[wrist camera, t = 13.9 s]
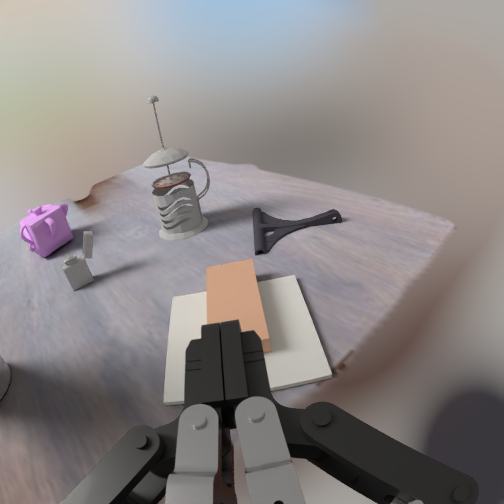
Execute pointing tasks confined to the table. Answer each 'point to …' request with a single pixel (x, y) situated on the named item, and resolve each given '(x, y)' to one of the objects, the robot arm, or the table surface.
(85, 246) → the lighter
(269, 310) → the mat
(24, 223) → the teapot
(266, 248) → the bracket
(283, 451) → the robot arm
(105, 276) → the table surface
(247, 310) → the tile
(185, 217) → the french press
